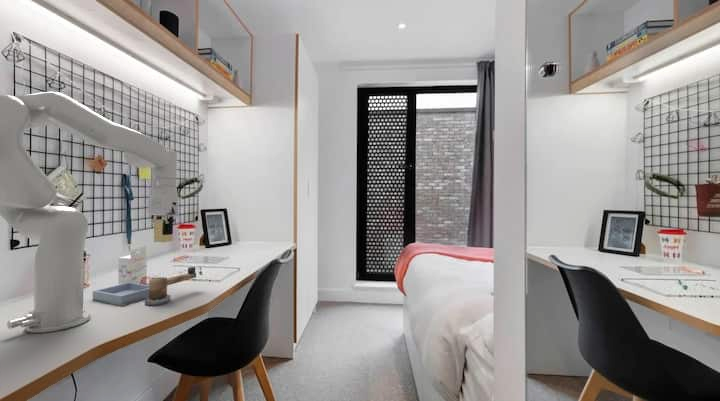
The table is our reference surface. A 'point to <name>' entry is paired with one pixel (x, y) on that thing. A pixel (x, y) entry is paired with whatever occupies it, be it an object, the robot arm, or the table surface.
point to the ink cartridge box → (133, 267)
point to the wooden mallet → (167, 283)
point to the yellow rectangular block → (160, 231)
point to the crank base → (157, 301)
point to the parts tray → (122, 293)
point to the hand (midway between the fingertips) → (163, 233)
